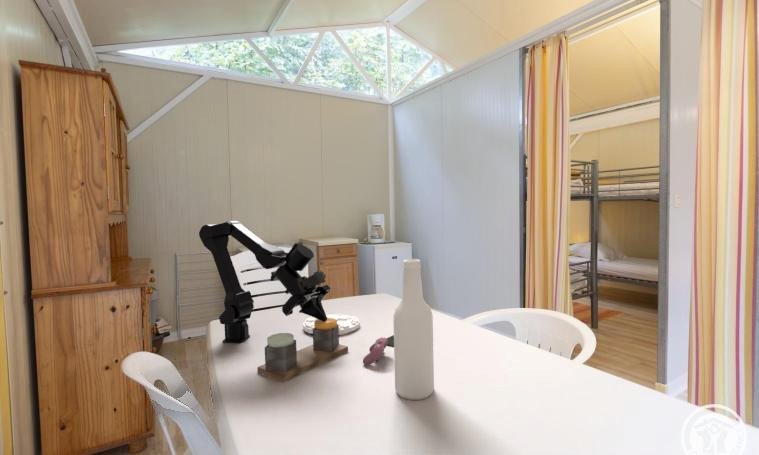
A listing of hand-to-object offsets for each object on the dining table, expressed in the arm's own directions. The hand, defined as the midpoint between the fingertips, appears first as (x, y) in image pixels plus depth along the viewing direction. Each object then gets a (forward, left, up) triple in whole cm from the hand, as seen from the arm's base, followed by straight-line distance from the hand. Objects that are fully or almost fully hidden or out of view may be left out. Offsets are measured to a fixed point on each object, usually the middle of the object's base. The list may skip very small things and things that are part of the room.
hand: (325, 320), depth 111 cm
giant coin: (-5, +23, -10) cm, 26 cm away
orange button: (0, 0, -8) cm, 8 cm away
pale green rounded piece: (-8, -14, -8) cm, 18 cm away
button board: (-4, -7, -9) cm, 13 cm away
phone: (+21, +13, -10) cm, 27 cm away
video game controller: (+15, -4, -10) cm, 19 cm away
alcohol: (+27, -22, -10) cm, 36 cm away
